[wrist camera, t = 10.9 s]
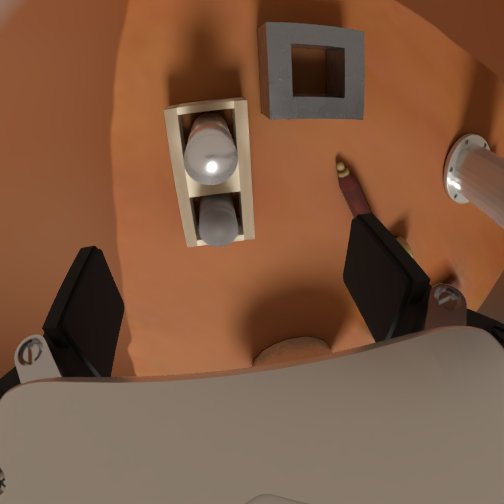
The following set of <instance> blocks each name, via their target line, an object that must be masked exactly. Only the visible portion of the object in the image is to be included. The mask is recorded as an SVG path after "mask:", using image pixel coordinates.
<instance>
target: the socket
mask: <svg viewBox="0 0 504 504" xmlns="http://www.w3.org/2000/svg"><path fill="white" fill-rule="evenodd" d="M257 41H258V59H259V78H260V98H261V113H262V114H263V115H265V116H266V117H267V118H269V119H270V120H272V119H306V118H324V119H357V120H363V111H364V31H359V30H354V29H347V28H341V27H333V26H325V25H316V24H304V23H287V22H265V23H264V24H263V25H261V26H260V27H259V28H258V29H257ZM291 48H306V49H321V50H326V94H323V93H293V91H292V60H291Z"/></svg>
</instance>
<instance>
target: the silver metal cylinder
mask: <svg viewBox="0 0 504 504" xmlns="http://www.w3.org/2000/svg"><path fill="white" fill-rule="evenodd" d="M183 161H184V167H185V170H186V172H187V173H188V175H189V176H190V177H191V178H192V179H193V180H194V181H196V182H198V183H200V184H204V185H216V184H220V183H222V182H224V181H226V180H227V179H229V178H230V177H231V176H232V174H233V173H234V172H235V170H236V168H237V164H238V153H237V150H236V147H235V145H234V142H233V139H232V137H231V134H230V132H229V129H228V126H227V124H226V122H225V120H224V119H223V118H222V117H221V116H220V115H218V114H215V113H205V114H202V115H200V116H199V117H198V118H197V119H196V120H195V121H194V123H193V125H192V128H191V132H190V135H189V139H188V142H187V146H186V150H185V153H184V160H183Z"/></svg>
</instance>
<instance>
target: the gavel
mask: <svg viewBox="0 0 504 504" xmlns="http://www.w3.org/2000/svg"><path fill="white" fill-rule="evenodd" d="M336 167H337V169H338V170H339V171H338V176H339V185H340V188H341V191H342V193H343V195H344V197H345V199H346V201H347V203H348V205H349V207H350V210H351V212H352V214H353V216H354V218H356V216H357V215H358V214H367V213H371V211H370V209H369V206H368V204H367V201H366V199H365V197H364V194H363V192H362V189H361V187H360V185H359V183H358V180H357V179H356V178H355V177H354V176H353V174H352V173H351V172H350V171H349V169H347V168H344V164H343V163H342V162H339V163H337V165H336ZM396 240H397V241H398V242H399V243H400V244H401V245H402V246H403V247H404V249H405V250H406V251H407V252H408V253H409V254H410V256H411V257H412V258H413V254H412V251H411V249H410V247H409V245H408V243H407V242H406V241H405V239H404V238H403V237H401V236H398V237H397V238H396Z"/></svg>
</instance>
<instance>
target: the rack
mask: <svg viewBox="0 0 504 504" xmlns="http://www.w3.org/2000/svg"><path fill="white" fill-rule="evenodd" d="M221 109H232V121H233V135H234V145H235V147H236V150H237V153H238V164H237V168H236V170H235V172H234V173H233V174H232V176H231V177H230V178H229V179H227V180H226V181H224V182H222V183H220V184H216V185H204V184H200V183H198V182H196V181H194V180H193V179H192V178H191V177H190V176H189V175H188V173H187V172H186V170H185V167H184V161H183V160H184V153H185V150H186V146H185V138H184V130H183V122H182V114H188V113H196V112H203V111H212V110H221ZM164 114H165V122H166V129H167V136H168V143H169V149H170V156H171V162H172V168H173V174H174V180H175V186H176V192H177V197H178V203H179V208H180V213H181V218H182V224H183V229H184V234H185V238H186V243H187V247H193V246H201V245H210V246H214V247H222V246H226V245H228V244H230V243H231V242H233V241H241V240H249V239H255V234H254V216H253V197H252V180H251V162H250V144H249V127H248V110H247V100H246V99H245V98H243V97H236V98H224V99H214V100H206V101H198V102H190V103H183V104H177V105H171V106H168V107H167V108H166V109H165V110H164ZM230 192H238V199H239V211H240V218H239V219H236V214H235V209H234V205H233V200H232V196H231V194H230ZM197 196H201V198H200V218H199V224H197V219H196V213H195V207H194V201H193V197H197Z"/></svg>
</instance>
